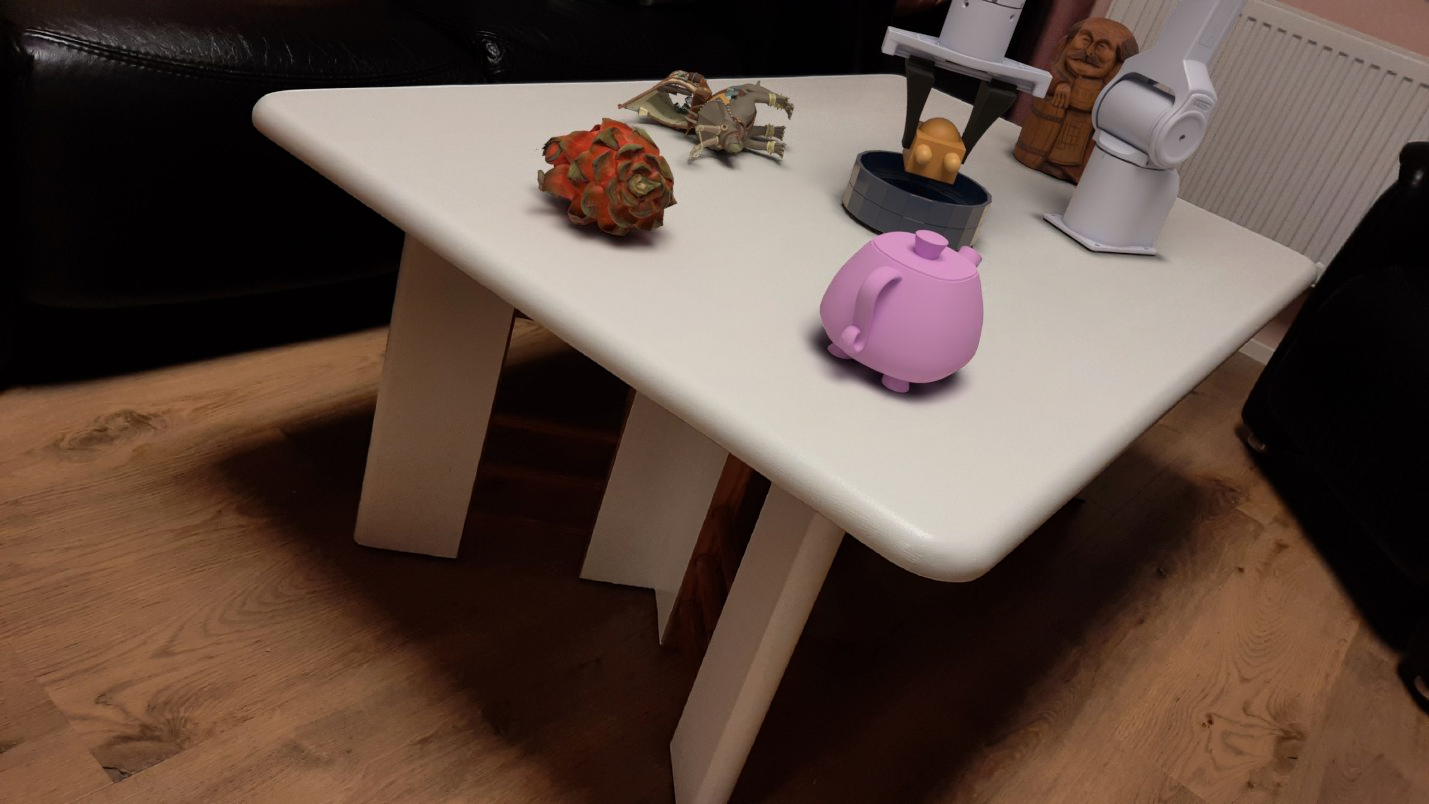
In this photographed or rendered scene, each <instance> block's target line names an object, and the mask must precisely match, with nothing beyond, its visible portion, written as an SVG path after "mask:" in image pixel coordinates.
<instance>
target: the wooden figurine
mask: <svg viewBox="0 0 1429 804" xmlns="http://www.w3.org/2000/svg"><path fill="white" fill-rule="evenodd" d="M1053 48H1054V49H1053V51H1052V53H1051V55H1050V59H1049V61H1048V64H1047V67H1046V68H1045V70H1044V71H1047V72H1049V73H1050V74H1051V76H1052V80H1051V82H1050V85H1049V87H1048V90H1047V92H1046V94H1045V97H1044V98H1040V97H1036V96H1033V99H1032V101H1031V104H1030V106H1029V108H1028V111H1027V113H1026V116H1025V118H1024V120H1023V124H1022V126H1021V129H1020V131H1019V135H1018V137H1017V141H1016V143H1015V146H1014V149H1013V155H1014V157H1015V158H1016V159H1017V160H1018V161H1019V162H1020V163H1021V164H1023V165H1025V166H1027V167H1028V168H1031V169H1032V170H1039V171H1041V172H1043V173H1045V174H1047V175H1051V176H1054V177H1056V178H1058V179H1060V180H1068V181H1071V182H1073V183H1075V184H1077V185H1078V183H1079V181H1080V178H1081V176H1082V174H1083V172H1084V169H1085V167H1086V165H1087V163H1088V160H1089V158H1090V156H1091V154H1092V152H1093V149H1094V147H1095V145H1096V143H1097V142H1096V141H1095V140H1093V139H1092V138H1093V136H1094V133H1095V131H1096V130H1095V128H1094V126H1093V124H1092V110H1093V106H1094V104H1095V101H1096V99H1097V97H1098V95H1099V94H1100V92H1101V91H1102V90H1103V88H1104V87H1105V86H1106V85H1107V84H1108V83H1109V82H1110V81H1111V80H1112V79H1113V78H1114V77H1115V76H1116V75H1117V73H1118V72H1119V70H1120V69H1121V67H1122V65H1123V63H1124V62H1125V60H1126V59H1128V58H1130V57H1132V56H1134V55H1137V54H1139V53H1140V49H1139V44H1138V42H1137V39H1136V37H1135V35H1134V34H1133V32H1132V31H1131V30H1130V29H1129V28H1128V27H1127V26H1126V25H1124V24H1123V23H1121V22H1119V21H1116V20H1113V19H1111V18H1108V17H1103V16H1102V17H1100V16H1099V17H1097V16H1096V17H1089V18H1085V19H1082V20H1081V21H1078V22H1075V24H1073V25H1072V26H1071V27H1070V28H1069V30H1068V31H1067V34H1066V35H1064V36H1061V38H1059V40H1058V41H1057V42H1056V44H1055V46H1054V47H1053Z"/></svg>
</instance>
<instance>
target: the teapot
mask: <svg viewBox="0 0 1429 804" xmlns="http://www.w3.org/2000/svg"><path fill="white" fill-rule="evenodd" d="M948 243H949V242H948V240H947V239H946V238H944V237H943V236H941V235H940V234H938V233H935V232H932V231H928V230H918V231H916V234H912V233H908V232H889V233H882V234H879V235H876V236H875V237H873V238H872V239H870V240H869V241H868V242H866V244H864V245H863V246H862V247H860V249H858V250H857V251H856V252H855V253H854V254H853V255H852V256H851V257H850V258H849V259H848V260H847V261H846V262H845V263H844V264H843V265H842V266H841V267H840V268H839V269H838V271H837V272H836V273H835V275H834V276H833V278H832V279H831V281H830V283H829V284H828V286H827V288H826V290H825V292H824V294H823V296H822V298H821V301H820V303H819V315H820V320H821V323H822V325H823V329H824V330H825V333H826V335H827V336H828V338H829V339H830V341H831V342H832V343H831V344H830V345H828V346H827V350H828V352H829V353H830V354H831V355H833V356H834V357H837V358H839V359H843V360H844V359H845V360H850V359H853V360H855V361H857V362H859V363H860V364H862V365H864V366H866V367H867V368H870V369H872V370H874V371H876V372H878V373H880V374H882V378H881V383H882V384H883V386H885V387H886V388H887V389H889V390H891V391H893V392H895V393H907V392H908V391H909V390H910V383H916V384H927V383H933V382H936V381H940V380H942V379H945V378H947V377H949V376H950V375H953V374H954V373H956V372H958V371H959V370H961V369H962V368H964V367H966V365H967V364H969V363H970V362H971V360H972V359H973V358H974V357H975V355H976V353H977V350H978V348H979V344H980V341H981V336H982V331H983V325H984V300H983V289H982V282H981V277H980V273H979V272H980V271H979V270H978V267H979V265H980V264H981V263H982V261H983V257H982V255H981V254H980V252H978V251H977V250H976V249H974V248H972V247H971V246H970V247H968V246H962V247H961V248H960V249H959V250H952V249H951V248H949V247H947V245H948Z"/></svg>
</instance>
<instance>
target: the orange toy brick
mask: <svg viewBox="0 0 1429 804" xmlns="http://www.w3.org/2000/svg"><path fill="white" fill-rule="evenodd" d="M961 137H962V135H961V133H960V131H959V129H958V128H957V126H956V124H955V123H954V122H952V121H951V120H950V119H948V118H946V117H941V116H940V117H939V116H937V117H931V118H929V119H927V120H925V121H922V120H919V124H918V127H917V131H916V134H915V137H914V139H913V142H912V144H911V147H910V149H905V148H903V147H902V151H901V153H903V159H904V165H905V171H907V172H910V173H914V174H917V175H921V176H924V177H928V178H932V179H935V180H939V181H942V182H946V183H949V184H953V183H954V181H955V178H956V175H957V173H958V172H959V170H960V169H961V167H962V166H961V165H962V164H961V162H962V160H963V157H964V154H965V152H966V149H965V146H964V143H963V141H962V138H961Z"/></svg>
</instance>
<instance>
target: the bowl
mask: <svg viewBox="0 0 1429 804" xmlns="http://www.w3.org/2000/svg"><path fill="white" fill-rule="evenodd" d="M992 198H993V197H992V194H991V193H990V192H989V191H988V189H987V188H986V187H985V186H983V185H982V184H980V183H979V182H978V181H976V180H975V179H973V178H972V177H970V176H968V175H966V174H963V173H962V172H960V171H958V173H957V175H956V178H955V181H954V183H953V184H949V183H946V182H942V181H939V180H935V179H932V178H928V177H924V176H921V175H917V174H914V173H910V172H907V171H905V165H904V159H903V153H902V152H900V151H893V150H884V149H872V150H864V151H861V152H858V153H857V155H856V158H855V160H854V163H853V167H852V170H851V172H850V176H849V178H848V181H847V185H846V188H845V190H844V194H843V197H842V199H841V200H842V203H843V205H844V207H845V209H846V211H848V212H849V213H850V214H851V215H853V216H854V217H855V218H856V219H858V220H859V221H860V222H862V223H864V224H865V225H867V226H869V227H871V228H872V229H874V230H877V231H879V232H881V233H882V234H885V233H889V232H908V233H912V234H916V231H918V230H928V231H932V232H935V233H938V234H940V235H941V236H943V237H944V238H946V239H947V240H948V242H949V243H948V245H947V247H949V248H951V249H952V250H954V251H959V250H960V248H961V247H962V246H968V247H970V248H971V247H972V246H973V245H975V244H976V243H977V241H978V240H977V239H978V237H979V236H980V235H979V234H980V232H981V230H982V228H983V225H984V223H985V220H986V219H987V215H988V213H989V211H990V207H991V206H992V203H993V199H992Z"/></svg>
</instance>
